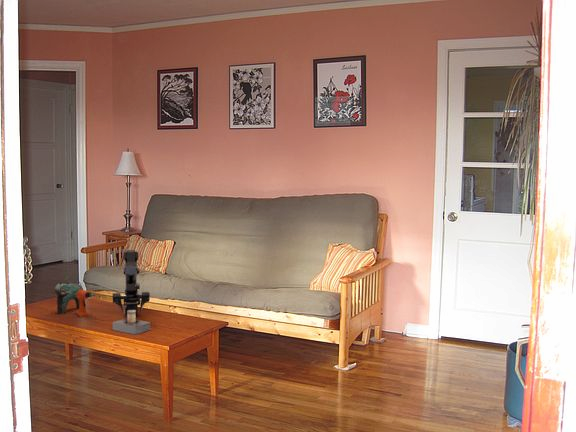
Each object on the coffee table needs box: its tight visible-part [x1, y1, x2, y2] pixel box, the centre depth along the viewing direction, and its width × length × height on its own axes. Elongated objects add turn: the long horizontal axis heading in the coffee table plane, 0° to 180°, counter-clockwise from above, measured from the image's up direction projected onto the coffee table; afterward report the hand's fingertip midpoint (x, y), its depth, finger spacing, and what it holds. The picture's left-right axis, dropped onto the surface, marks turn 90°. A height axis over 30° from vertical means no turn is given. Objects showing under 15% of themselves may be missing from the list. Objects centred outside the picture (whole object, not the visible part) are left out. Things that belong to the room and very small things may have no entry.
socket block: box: [112, 317, 151, 335], centre depth 309 cm, size 10×16×4 cm, turn 59°
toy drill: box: [76, 289, 96, 318], centre depth 335 cm, size 5×19×15 cm, turn 47°
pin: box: [126, 310, 137, 324], centre depth 309 cm, size 4×4×10 cm
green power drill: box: [54, 276, 84, 315], centre depth 348 cm, size 20×6×20 cm, turn 155°
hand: (131, 311), depth 312 cm, fingers open, 9 cm apart
